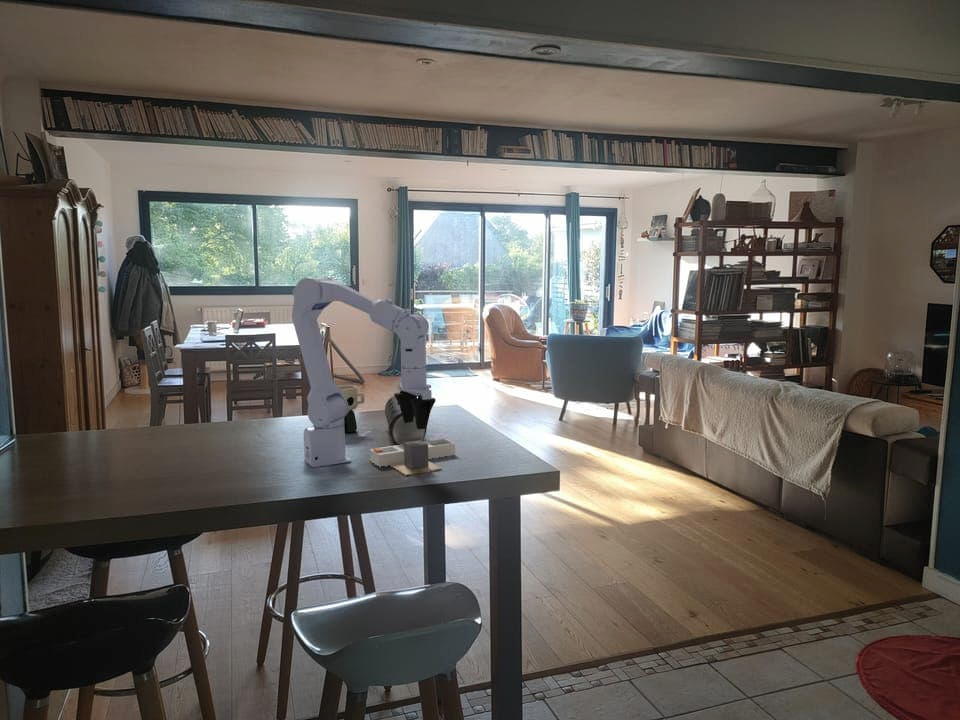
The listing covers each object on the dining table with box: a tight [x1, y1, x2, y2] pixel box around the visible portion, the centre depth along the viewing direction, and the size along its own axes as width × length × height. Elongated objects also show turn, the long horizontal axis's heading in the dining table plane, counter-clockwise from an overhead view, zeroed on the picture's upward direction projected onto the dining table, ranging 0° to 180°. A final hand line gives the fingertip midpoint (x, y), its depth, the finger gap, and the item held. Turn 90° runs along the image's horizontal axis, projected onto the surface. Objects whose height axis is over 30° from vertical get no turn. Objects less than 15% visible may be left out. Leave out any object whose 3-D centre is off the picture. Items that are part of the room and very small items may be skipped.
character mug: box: [337, 384, 365, 433], centre depth 194 cm, size 11×7×13 cm, turn 101°
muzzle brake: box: [384, 395, 428, 445], centre depth 185 cm, size 10×28×10 cm, turn 11°
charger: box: [404, 440, 429, 470], centre depth 158 cm, size 4×4×6 cm
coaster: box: [389, 460, 443, 477], centre depth 158 cm, size 9×9×1 cm
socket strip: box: [369, 437, 456, 468], centre depth 166 cm, size 20×6×4 cm, turn 120°
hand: (415, 425), depth 158 cm, fingers open, 7 cm apart
